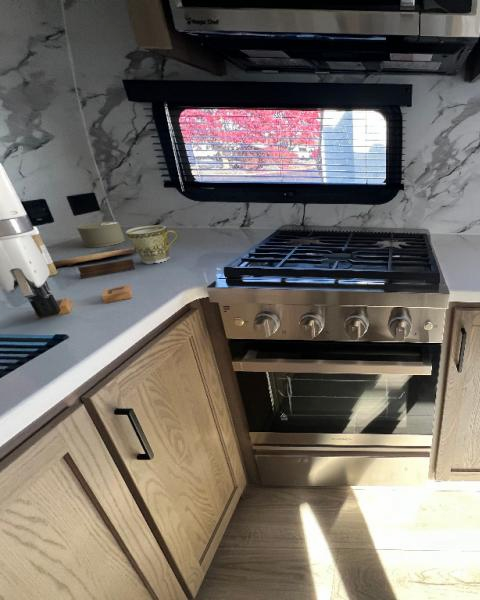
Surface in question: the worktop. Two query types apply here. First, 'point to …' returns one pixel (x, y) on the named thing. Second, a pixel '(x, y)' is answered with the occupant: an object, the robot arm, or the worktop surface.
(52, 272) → the sprinkles bottle
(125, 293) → the tile
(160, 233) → the ceramic cup
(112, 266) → the dark brown wooden block
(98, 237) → the olive green bowl
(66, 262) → the wooden board
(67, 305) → the tile
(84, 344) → the worktop surface
